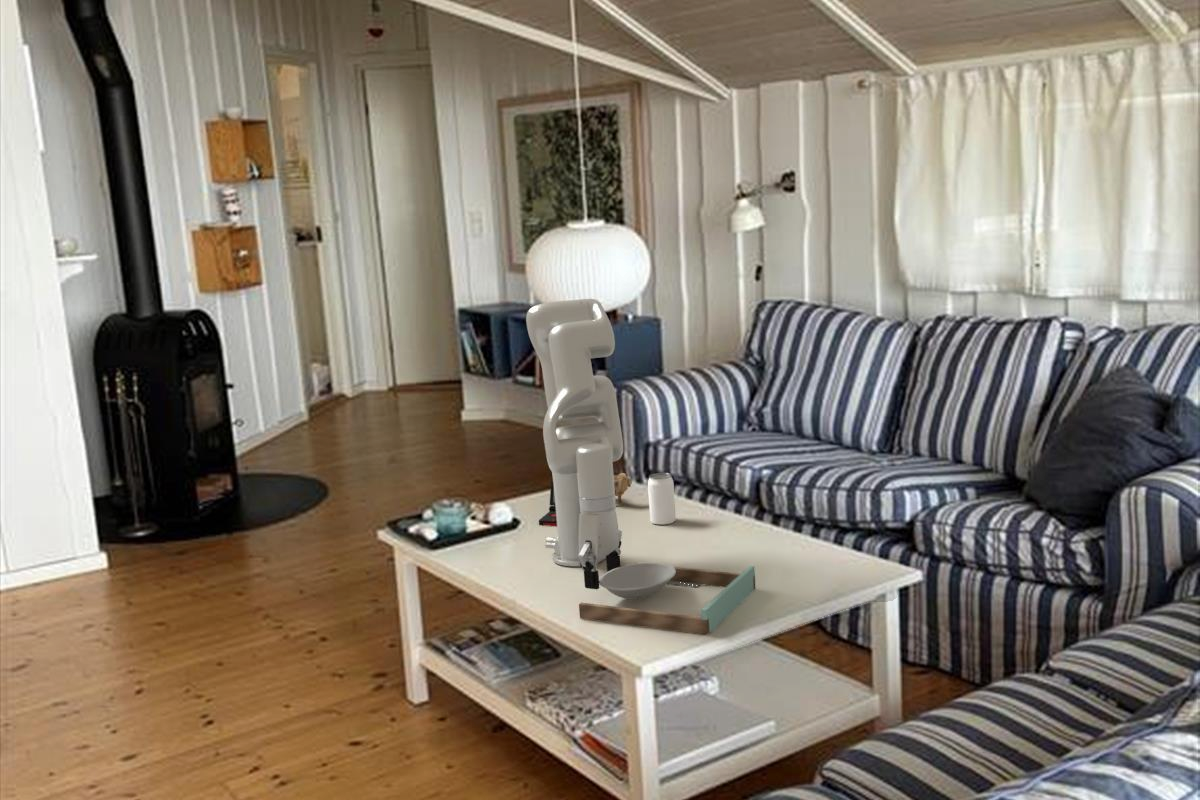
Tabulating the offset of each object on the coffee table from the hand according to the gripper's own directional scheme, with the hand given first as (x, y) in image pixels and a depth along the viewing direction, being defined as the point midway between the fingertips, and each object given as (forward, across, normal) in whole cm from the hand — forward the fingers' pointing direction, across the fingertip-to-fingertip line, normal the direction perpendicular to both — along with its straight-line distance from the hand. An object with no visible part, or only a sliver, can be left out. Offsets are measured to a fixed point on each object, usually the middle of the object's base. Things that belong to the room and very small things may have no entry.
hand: (603, 580), depth 257 cm
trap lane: (+3, 0, +15) cm, 15 cm away
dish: (+4, -1, +8) cm, 9 cm away
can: (+4, -51, -10) cm, 52 cm away
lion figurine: (+4, -63, -31) cm, 70 cm away
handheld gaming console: (+4, -46, -37) cm, 59 cm away
